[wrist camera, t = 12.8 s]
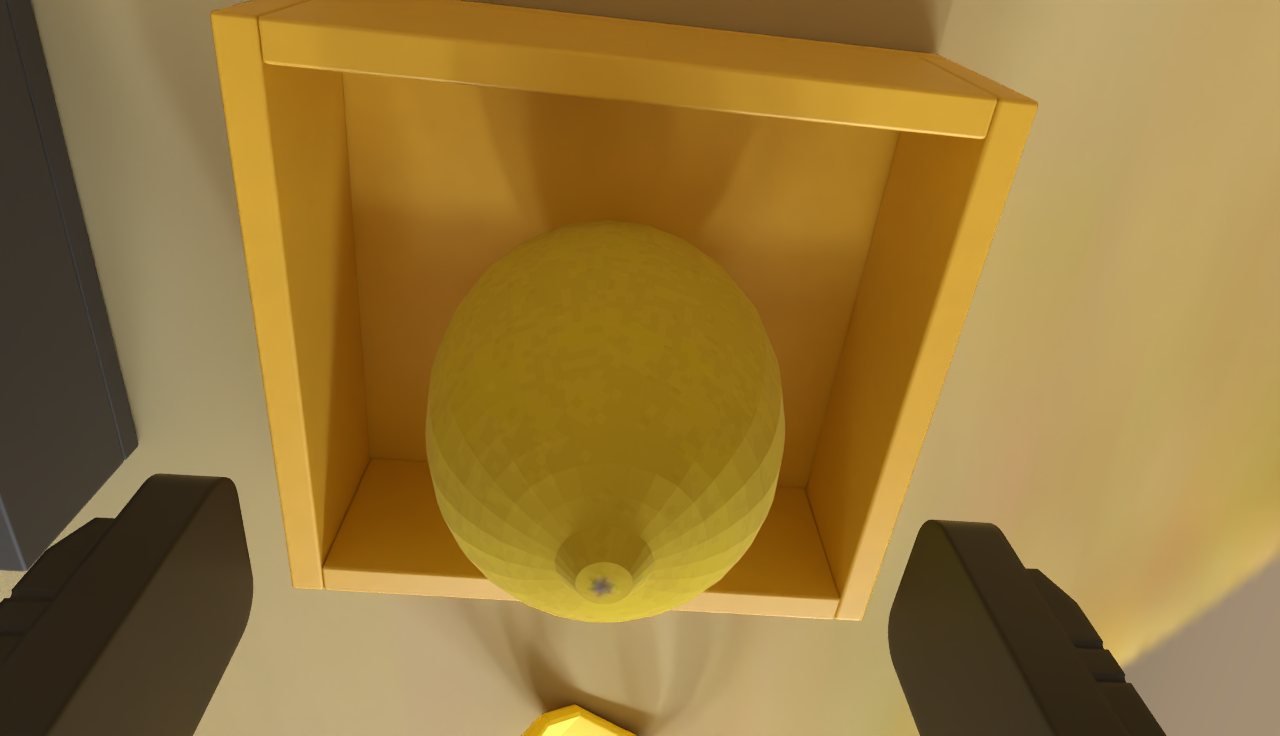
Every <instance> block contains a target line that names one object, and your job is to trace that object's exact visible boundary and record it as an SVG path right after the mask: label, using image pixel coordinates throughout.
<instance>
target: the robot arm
mask: <svg viewBox="0 0 1280 736" xmlns="http://www.w3.org/2000/svg"><path fill="white" fill-rule="evenodd" d="M252 598H253V576H252V570H251V565H250V559H249V554H248V548H247V543H246V537H245V531H244V526H243V520H242V515H241V509H240V504H239V498H238V493H237V489H236V487H235V484H234V483H233V481H232V480H231V479H230V478H227V477H210V476H193V475H175V474H155V475H153V476H151V477H150V478H148V479H147V480H146V481H145V482H144V483H143V484H142V486H141V487H140V488H139V490H138V491H137V492H136V493H135V495H134V496H133V497H132V498H131V500H130V501H129V502H128V503H127V505H126V506H125V507H124V508H123V510H122V511H121V512H120V513H119V515H118V516H117V517H116V518H115V519H114V518H94V519H93V520H91V521H90V522H88V523H87V524H85V525H83V526H82V527H80V528H79V529H77V530H76V531H74V532H73V533H71V534H70V535H68V536H67V537H65V538H64V539H62V540H61V541H59V542H58V543H56V544H55V545H53V546H52V547H50V548H49V549H47V550H46V551H45V552H44V553H43V554H42V555H41V557H40V558H39V559H38V560H37V561H36V562H35V564H34V565H33V566H32V567H31V568H30V569H29V570H28V572H27V573H26V574H25V575H24V576H23V577H22V579H21V580H20V581H19V582H18V583H17V584H16V586H15V587H14V588H13V589H12V595H11V597H10V598H4V599H3V601H2V602H1V603H0V736H193V734H194V732H195V730H196V728H197V726H198V724H199V722H200V720H201V718H202V716H203V714H204V712H205V710H206V708H207V706H208V704H209V702H210V700H211V698H212V696H213V694H214V692H215V690H216V688H217V686H218V684H219V682H220V680H221V678H222V676H223V674H224V672H225V670H226V668H227V666H228V664H229V662H230V660H231V658H232V656H233V653H234V651H235V649H236V647H237V645H238V643H239V641H240V639H241V637H242V635H243V633H244V631H245V628H246V625H247V622H248V619H249V615H250V610H251V605H252ZM888 640H889V649H890V654H891V658H892V662H893V665H894V668H895V670H896V673H897V676H898V678H899V681H900V684H901V686H902V689H903V692H904V694H905V697H906V699H907V702H908V705H909V707H910V710H911V713H912V715H913V718H914V721H915V723H916V726H917V729H918V731H919V734H920V736H1166V734H1165V733H1164V731H1163V730H1162V728H1161V727H1160V726H1159V724H1158V723H1157V721H1156V720H1155V718H1154V717H1153V715H1152V714H1151V712H1150V711H1149V709H1148V708H1147V706H1146V705H1145V703H1144V702H1143V700H1142V699H1141V697H1140V696H1139V694H1138V693H1137V692H1136V690H1135V688H1134V687H1133V685H1132V684H1131V683H1126V681H1125V674H1124V672H1123V671H1122V669H1121V668H1120V666H1119V665H1118V663H1117V662H1116V660H1115V659H1114V657H1113V656H1112V654H1111V653H1110V651H1109V650H1105V649H1103V641H1102V639H1101V638H1100V637H1099V635H1098V634H1097V632H1096V631H1095V629H1094V628H1093V626H1092V625H1091V623H1090V622H1089V620H1088V619H1087V617H1086V616H1085V614H1084V613H1083V611H1082V610H1081V608H1080V607H1079V605H1078V604H1077V603H1076V602H1075V601H1074V600H1073V599H1072V598H1071V597H1069V596H1068V595H1067V594H1066V593H1065V592H1064V591H1062V590H1061V589H1060V588H1059V587H1058V586H1057V585H1056V584H1054V583H1053V582H1052V581H1051V580H1050V579H1049V578H1048V577H1046V576H1045V575H1044V574H1043V573H1042V572H1041V571H1039V570H1038V569H1025V567H1024V566H1023V564H1022V563H1021V561H1020V559H1019V558H1018V556H1017V555H1016V553H1015V551H1014V550H1013V548H1012V547H1011V545H1010V544H1009V542H1008V540H1007V539H1006V537H1005V536H1004V534H1003V533H1002V531H1001V530H1000V529H999V528H998V527H997V526H996V525H994V524H991V523H980V522H962V521H945V520H928V521H926V522H925V523H924V524H923V525H922V527H921V528H920V530H919V532H918V535H917V538H916V540H915V543H914V546H913V549H912V552H911V554H910V557H909V560H908V563H907V566H906V568H905V571H904V574H903V577H902V580H901V583H900V585H899V588H898V591H897V594H896V597H895V599H894V602H893V605H892V608H891V611H890V616H889V624H888Z"/></svg>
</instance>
